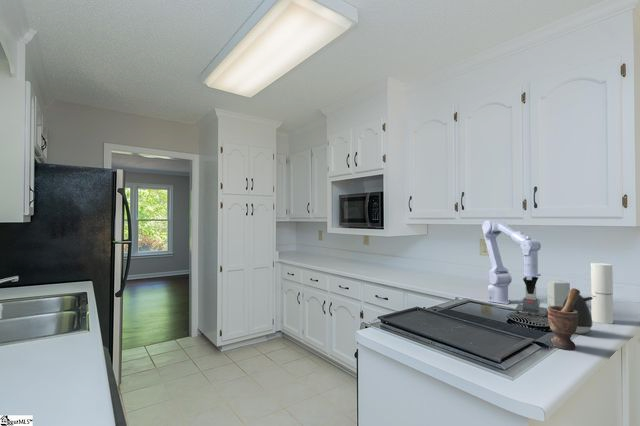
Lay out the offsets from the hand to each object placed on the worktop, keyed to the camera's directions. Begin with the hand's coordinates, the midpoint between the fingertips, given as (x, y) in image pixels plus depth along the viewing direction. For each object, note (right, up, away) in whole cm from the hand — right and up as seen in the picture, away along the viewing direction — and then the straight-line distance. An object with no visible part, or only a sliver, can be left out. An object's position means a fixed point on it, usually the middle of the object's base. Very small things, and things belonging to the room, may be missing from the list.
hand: (530, 292), depth 157 cm
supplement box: (+20, -9, +10) cm, 24 cm away
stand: (0, -9, 0) cm, 9 cm away
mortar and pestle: (-14, -9, -40) cm, 44 cm away
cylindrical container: (+22, -9, -14) cm, 28 cm away
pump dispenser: (+1, -9, -27) cm, 29 cm away
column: (0, -6, 0) cm, 6 cm away
